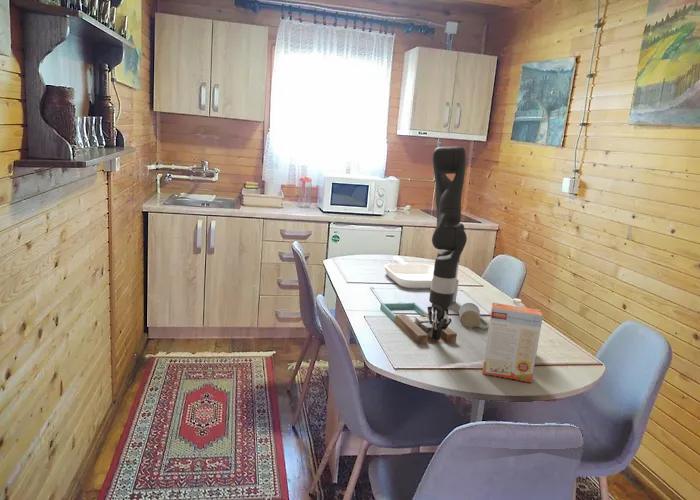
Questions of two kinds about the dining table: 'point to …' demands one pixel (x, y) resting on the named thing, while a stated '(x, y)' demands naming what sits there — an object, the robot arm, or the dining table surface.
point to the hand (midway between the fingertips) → (435, 339)
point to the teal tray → (400, 308)
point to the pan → (410, 274)
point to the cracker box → (512, 342)
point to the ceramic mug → (471, 316)
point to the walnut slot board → (419, 334)
